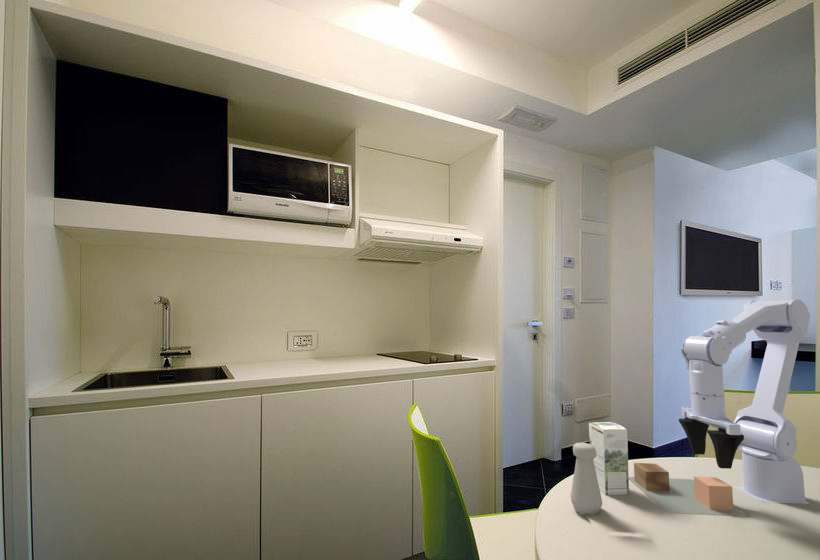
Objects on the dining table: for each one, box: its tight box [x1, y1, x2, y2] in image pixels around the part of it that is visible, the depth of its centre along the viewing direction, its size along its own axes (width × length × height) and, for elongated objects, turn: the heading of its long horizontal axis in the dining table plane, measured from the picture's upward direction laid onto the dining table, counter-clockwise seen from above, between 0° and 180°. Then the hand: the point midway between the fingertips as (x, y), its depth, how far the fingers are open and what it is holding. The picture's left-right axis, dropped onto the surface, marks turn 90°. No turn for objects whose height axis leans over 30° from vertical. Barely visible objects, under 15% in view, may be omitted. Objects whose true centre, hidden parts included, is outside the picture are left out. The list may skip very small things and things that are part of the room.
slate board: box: [629, 476, 749, 517], centre depth 84 cm, size 15×17×1 cm
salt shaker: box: [570, 442, 603, 517], centre depth 78 cm, size 6×6×13 cm
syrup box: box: [588, 421, 630, 496], centre depth 87 cm, size 6×6×14 cm
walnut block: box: [633, 462, 670, 491], centre depth 88 cm, size 5×5×4 cm
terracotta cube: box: [693, 476, 734, 510], centre depth 80 cm, size 4×4×4 cm
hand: (711, 460), depth 80 cm, fingers open, 7 cm apart
